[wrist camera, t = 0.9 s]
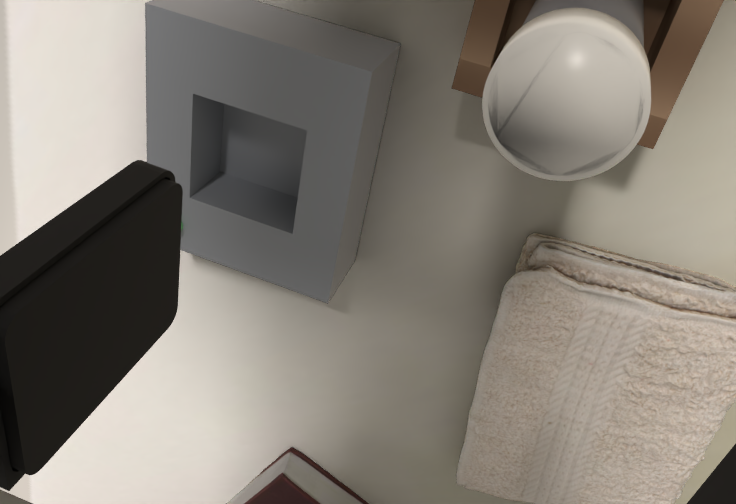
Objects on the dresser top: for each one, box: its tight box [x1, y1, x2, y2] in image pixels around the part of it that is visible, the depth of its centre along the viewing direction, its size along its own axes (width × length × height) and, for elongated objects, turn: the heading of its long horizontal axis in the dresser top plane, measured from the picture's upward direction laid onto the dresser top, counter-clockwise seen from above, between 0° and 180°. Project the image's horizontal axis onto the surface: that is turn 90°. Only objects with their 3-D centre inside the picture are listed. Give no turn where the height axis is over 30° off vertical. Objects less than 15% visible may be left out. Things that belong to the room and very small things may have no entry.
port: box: [145, 0, 401, 303], centre depth 33 cm, size 12×10×4 cm
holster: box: [452, 0, 724, 149], centre depth 25 cm, size 8×8×4 cm
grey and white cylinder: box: [482, 0, 651, 181], centre depth 21 cm, size 4×4×12 cm
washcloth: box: [456, 233, 736, 504], centre depth 36 cm, size 12×18×3 cm, turn 175°
